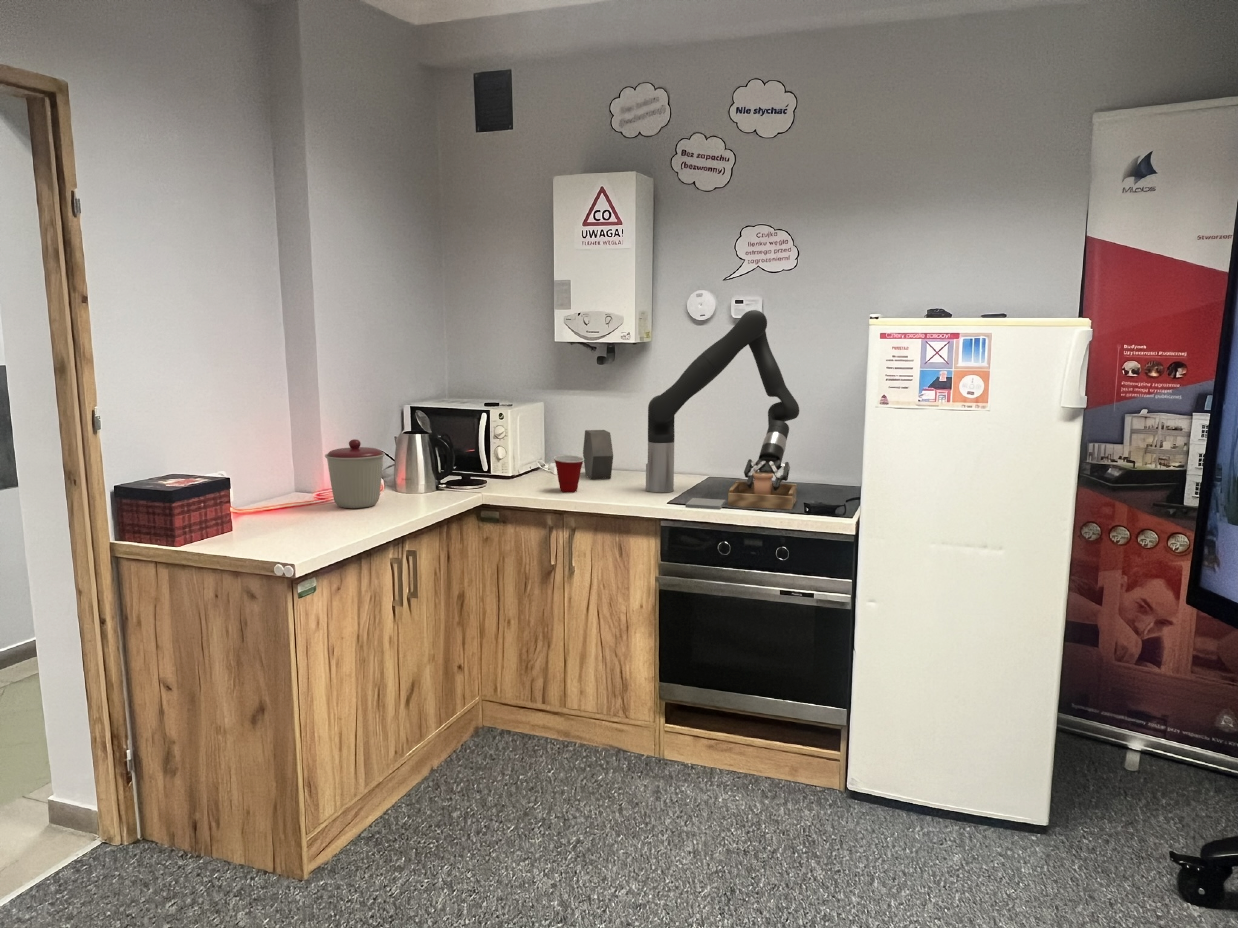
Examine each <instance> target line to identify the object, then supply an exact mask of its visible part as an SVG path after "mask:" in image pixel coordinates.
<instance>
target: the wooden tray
mask: <svg viewBox="0 0 1238 928" xmlns="http://www.w3.org/2000/svg"><path fill="white" fill-rule="evenodd" d="M774 483H775V482H772V487H771V495H758V494H754V481H753V484H752V487H751V489H750V488H748V486H747V480H746V481H741V480H735V483H734V484H733V485H732V486H731V487H730V488H729V490H728V494H727V497H728V498H727V506H728V507H743V508H757V509H758V508H761V509H772V510H773V509H774V510H775V509H776V510H793V508H794V506H795V503H796V501H797V483H785V482H784V483H782V482H781V483H780V487H779V489H777V491H774V488H773V486H774Z"/></svg>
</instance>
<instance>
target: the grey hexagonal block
mask: <svg viewBox="0 0 1238 928" xmlns="http://www.w3.org/2000/svg"><path fill="white" fill-rule="evenodd" d="M583 439H584V440H583V449H582V456H583V457H582V458H584V459H585V460H584V461H583V464H584V466H583V467H584V472H585V473H584V474H585V476H586V477H587V476H588V477H587V478H589V479H590V480H606V479H607V480H609V479H610V478H612V470H613V462H614V451H613V449H614V448H613V443H612V435H611V432H610V431H608V430H605V429H585V430H584V438H583ZM610 480H611V479H610Z"/></svg>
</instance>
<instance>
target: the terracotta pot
mask: <svg viewBox="0 0 1238 928" xmlns="http://www.w3.org/2000/svg"><path fill="white" fill-rule="evenodd" d="M753 477H754V479H753V482H754V494H758V495H771V487H772V483H773V481H772V480H773V478H774V474H773V473H770V472H754V473H753Z"/></svg>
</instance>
